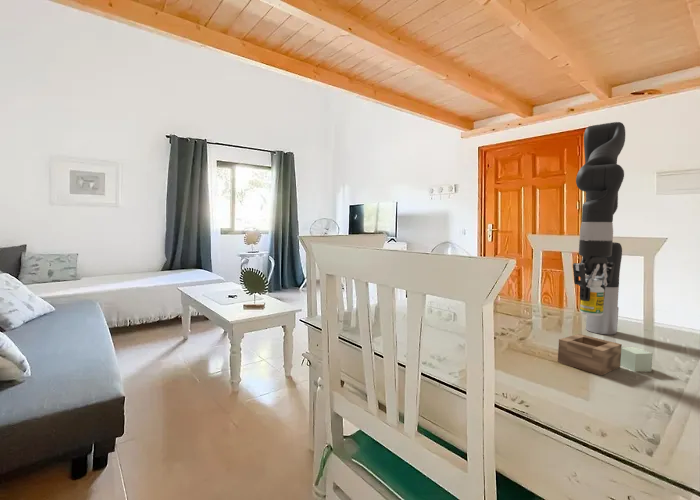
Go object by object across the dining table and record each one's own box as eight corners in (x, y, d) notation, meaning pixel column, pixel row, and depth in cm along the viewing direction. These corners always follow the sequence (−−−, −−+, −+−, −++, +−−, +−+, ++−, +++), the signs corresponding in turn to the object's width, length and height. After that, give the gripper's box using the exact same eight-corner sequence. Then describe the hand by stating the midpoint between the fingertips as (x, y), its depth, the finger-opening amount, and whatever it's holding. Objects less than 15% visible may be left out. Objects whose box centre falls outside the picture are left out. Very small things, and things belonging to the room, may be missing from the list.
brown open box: (577, 354, 108) (578, 333, 108) (620, 367, 99) (621, 344, 99) (557, 361, 103) (558, 339, 102) (600, 375, 93) (602, 351, 93)
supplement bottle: (585, 310, 104) (587, 277, 103) (606, 314, 99) (608, 280, 99) (576, 312, 101) (578, 278, 100) (597, 317, 96) (599, 281, 96)
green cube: (634, 364, 102) (635, 347, 101) (651, 371, 97) (652, 353, 97) (618, 364, 101) (619, 347, 101) (634, 372, 96) (635, 353, 96)
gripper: (599, 238, 105) (596, 296, 106) (564, 238, 99) (561, 299, 101) (627, 239, 98) (623, 301, 99) (591, 239, 92) (587, 304, 94)
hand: (592, 299), depth 100 cm, fingers closed on supplement bottle, 5 cm apart
